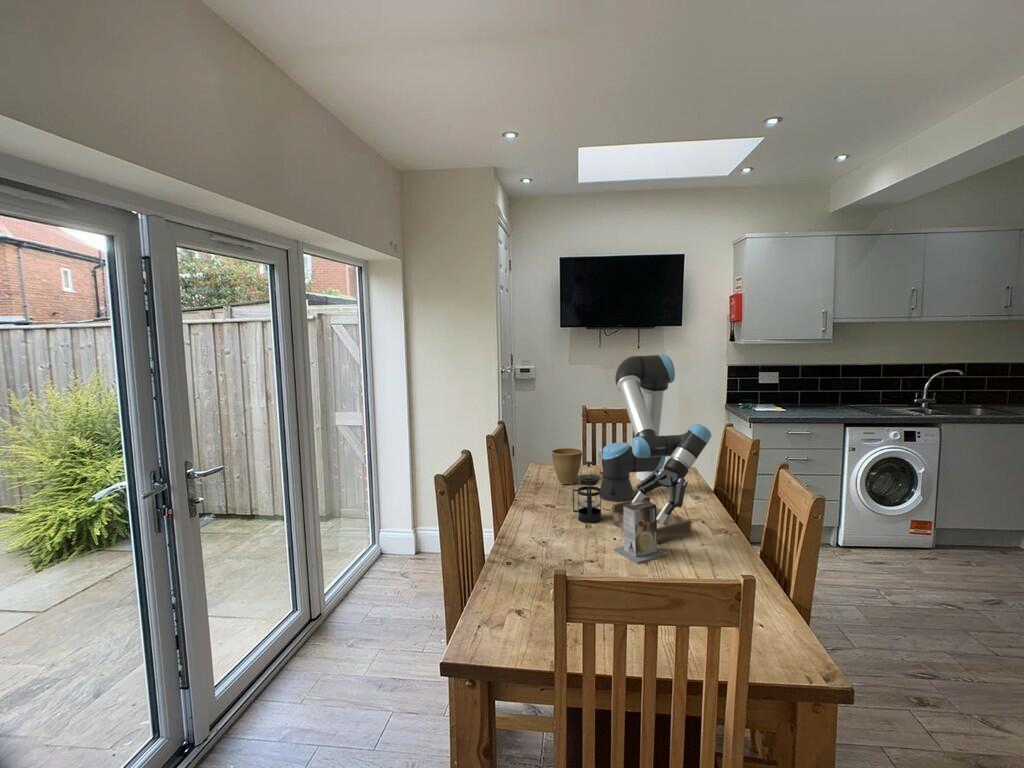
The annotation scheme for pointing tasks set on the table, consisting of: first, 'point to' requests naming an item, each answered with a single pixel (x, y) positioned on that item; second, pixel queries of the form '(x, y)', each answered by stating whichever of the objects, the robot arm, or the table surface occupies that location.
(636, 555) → the coffee box
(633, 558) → the slate mat
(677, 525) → the wooden tray
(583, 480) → the french press
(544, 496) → the table surface
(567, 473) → the plant pot
